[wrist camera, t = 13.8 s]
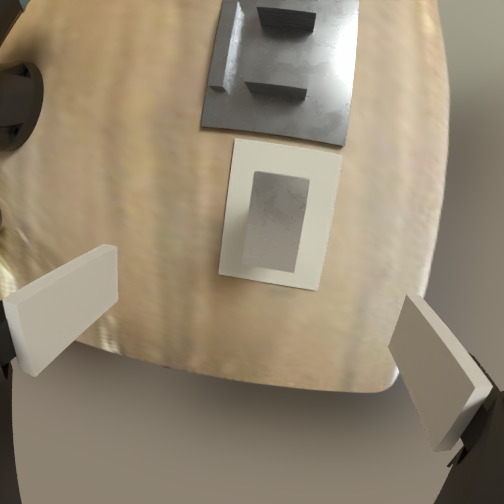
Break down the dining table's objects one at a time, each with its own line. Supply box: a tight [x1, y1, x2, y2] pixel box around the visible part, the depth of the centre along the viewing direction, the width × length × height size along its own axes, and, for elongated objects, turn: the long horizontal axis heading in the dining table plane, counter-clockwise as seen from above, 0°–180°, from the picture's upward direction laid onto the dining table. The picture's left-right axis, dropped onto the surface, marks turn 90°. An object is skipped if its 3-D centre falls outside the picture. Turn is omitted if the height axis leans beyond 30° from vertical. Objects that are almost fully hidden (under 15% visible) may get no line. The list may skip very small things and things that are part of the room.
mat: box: [218, 138, 343, 291], centre depth 35 cm, size 12×16×1 cm
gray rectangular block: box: [242, 171, 310, 273], centre depth 29 cm, size 4×7×12 cm, turn 172°
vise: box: [201, 0, 359, 147], centre depth 27 cm, size 16×23×6 cm
